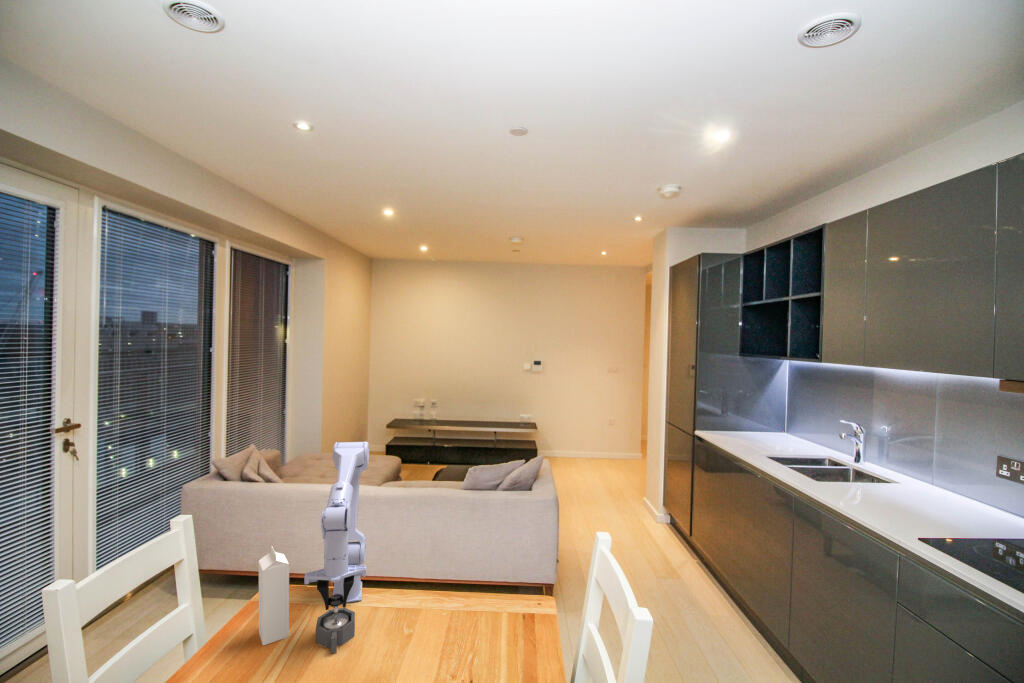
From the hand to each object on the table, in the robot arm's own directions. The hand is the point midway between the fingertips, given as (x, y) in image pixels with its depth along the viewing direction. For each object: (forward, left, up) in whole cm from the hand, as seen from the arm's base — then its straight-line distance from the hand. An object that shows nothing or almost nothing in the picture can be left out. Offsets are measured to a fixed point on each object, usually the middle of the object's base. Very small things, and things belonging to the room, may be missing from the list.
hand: (335, 606), depth 119 cm
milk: (-4, -15, -8) cm, 17 cm away
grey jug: (+1, 0, -7) cm, 8 cm away
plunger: (0, 0, -4) cm, 4 cm away
